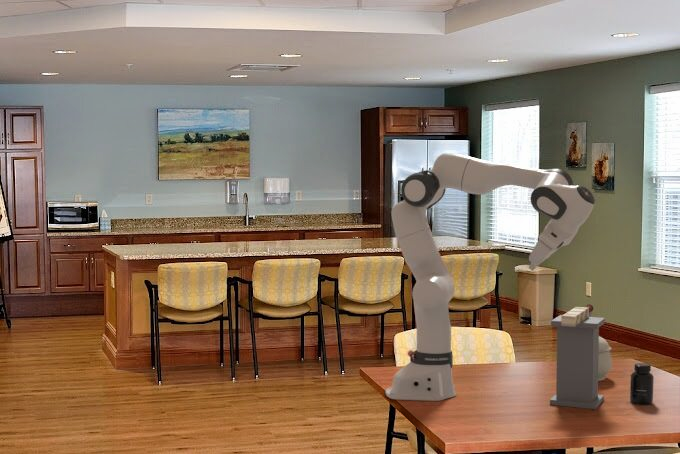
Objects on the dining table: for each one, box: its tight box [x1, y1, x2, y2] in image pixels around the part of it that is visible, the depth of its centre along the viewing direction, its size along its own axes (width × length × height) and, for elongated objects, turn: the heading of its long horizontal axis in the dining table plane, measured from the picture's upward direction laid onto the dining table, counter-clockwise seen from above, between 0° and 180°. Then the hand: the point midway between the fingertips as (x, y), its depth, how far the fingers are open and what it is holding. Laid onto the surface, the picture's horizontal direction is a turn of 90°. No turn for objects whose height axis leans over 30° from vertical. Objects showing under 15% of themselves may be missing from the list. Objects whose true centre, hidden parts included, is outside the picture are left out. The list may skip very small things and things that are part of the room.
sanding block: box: [561, 306, 589, 327], centre depth 300 cm, size 21×4×3 cm, turn 155°
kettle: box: [584, 304, 613, 382], centre depth 343 cm, size 25×18×25 cm
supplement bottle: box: [629, 362, 655, 406], centre depth 306 cm, size 7×7×12 cm
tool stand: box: [549, 314, 606, 410], centre depth 305 cm, size 13×14×26 cm
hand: (537, 263), depth 310 cm, fingers open, 8 cm apart
